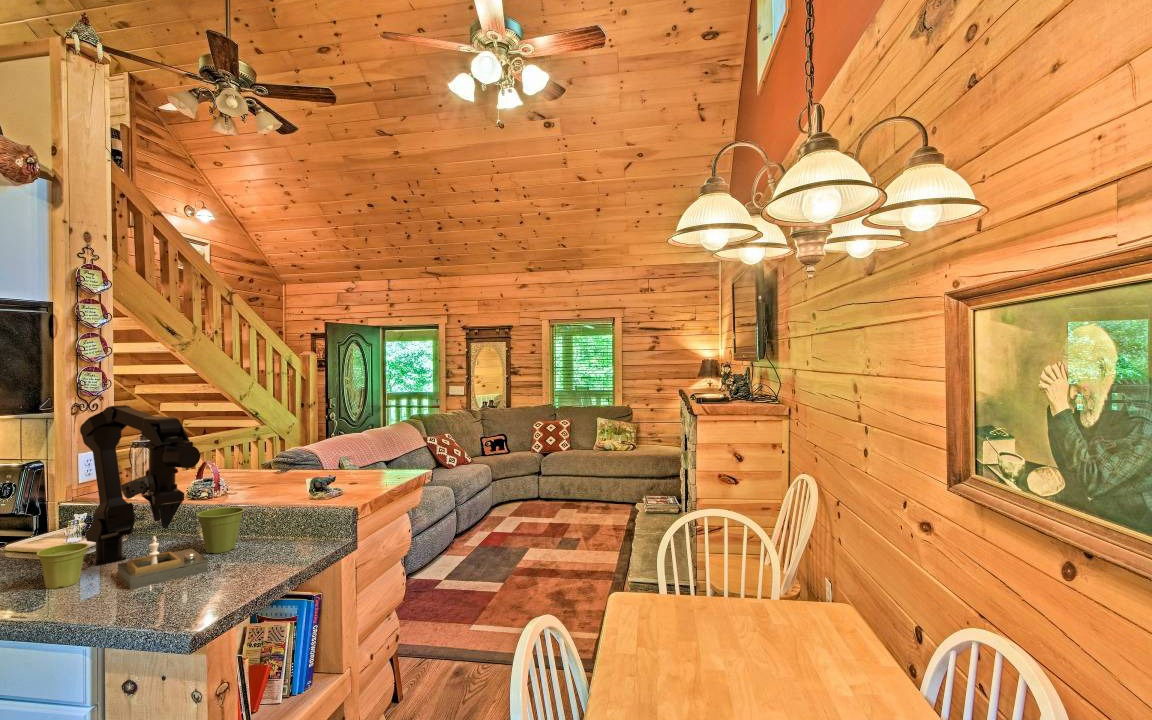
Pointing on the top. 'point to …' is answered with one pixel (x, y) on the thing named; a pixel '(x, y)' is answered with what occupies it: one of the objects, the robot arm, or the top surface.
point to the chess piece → (154, 550)
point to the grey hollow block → (161, 568)
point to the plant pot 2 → (220, 528)
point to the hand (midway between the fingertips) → (160, 524)
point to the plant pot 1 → (62, 564)
